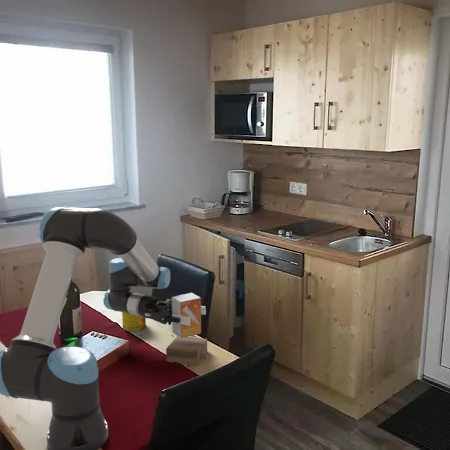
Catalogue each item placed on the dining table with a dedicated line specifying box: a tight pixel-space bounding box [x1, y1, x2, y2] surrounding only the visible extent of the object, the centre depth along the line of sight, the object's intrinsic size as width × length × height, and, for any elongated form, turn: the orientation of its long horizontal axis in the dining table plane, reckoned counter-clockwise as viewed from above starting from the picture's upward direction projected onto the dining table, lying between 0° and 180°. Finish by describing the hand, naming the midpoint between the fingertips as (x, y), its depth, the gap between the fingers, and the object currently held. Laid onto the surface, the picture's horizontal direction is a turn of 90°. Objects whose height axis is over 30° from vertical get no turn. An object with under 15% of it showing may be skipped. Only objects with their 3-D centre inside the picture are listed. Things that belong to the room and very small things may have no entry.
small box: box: [171, 292, 202, 338], centre depth 176 cm, size 8×6×13 cm
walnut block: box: [165, 335, 208, 366], centre depth 179 cm, size 11×11×5 cm
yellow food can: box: [121, 312, 147, 332], centre depth 203 cm, size 9×9×12 cm
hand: (197, 315), depth 174 cm, fingers closed on small box, 10 cm apart
